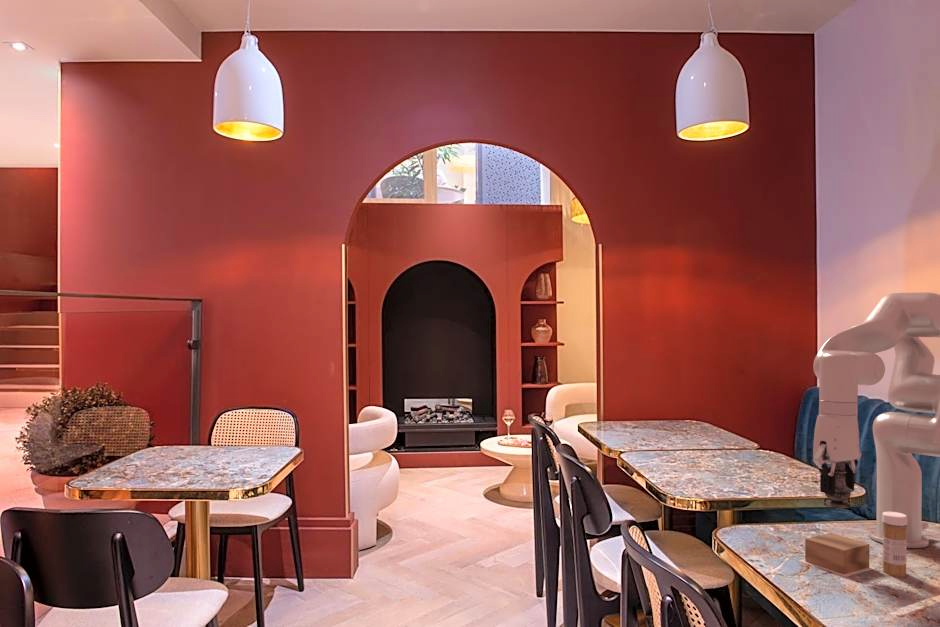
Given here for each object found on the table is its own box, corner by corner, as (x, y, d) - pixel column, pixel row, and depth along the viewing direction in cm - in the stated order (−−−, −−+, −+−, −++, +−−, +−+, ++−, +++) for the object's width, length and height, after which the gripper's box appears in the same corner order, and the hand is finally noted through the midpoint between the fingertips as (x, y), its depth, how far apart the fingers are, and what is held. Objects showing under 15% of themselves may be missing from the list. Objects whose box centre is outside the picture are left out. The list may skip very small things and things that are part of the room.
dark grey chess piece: (856, 509, 152) (856, 453, 152) (826, 507, 153) (827, 451, 153) (847, 502, 157) (848, 448, 158) (818, 500, 159) (819, 447, 159)
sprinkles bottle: (905, 575, 151) (905, 512, 151) (908, 582, 147) (908, 517, 147) (880, 571, 153) (881, 509, 153) (883, 579, 149) (883, 515, 149)
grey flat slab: (831, 555, 164) (831, 551, 164) (882, 571, 153) (882, 567, 153) (785, 566, 156) (785, 562, 156) (836, 584, 146) (837, 580, 146)
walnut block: (830, 554, 161) (830, 532, 161) (869, 567, 153) (869, 544, 153) (805, 561, 157) (805, 538, 157) (843, 574, 149) (843, 550, 149)
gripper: (846, 405, 163) (845, 484, 163) (797, 409, 154) (796, 492, 154) (878, 409, 156) (877, 491, 156) (829, 413, 148) (828, 500, 148)
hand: (837, 490), depth 155 cm, fingers closed on dark grey chess piece, 5 cm apart
